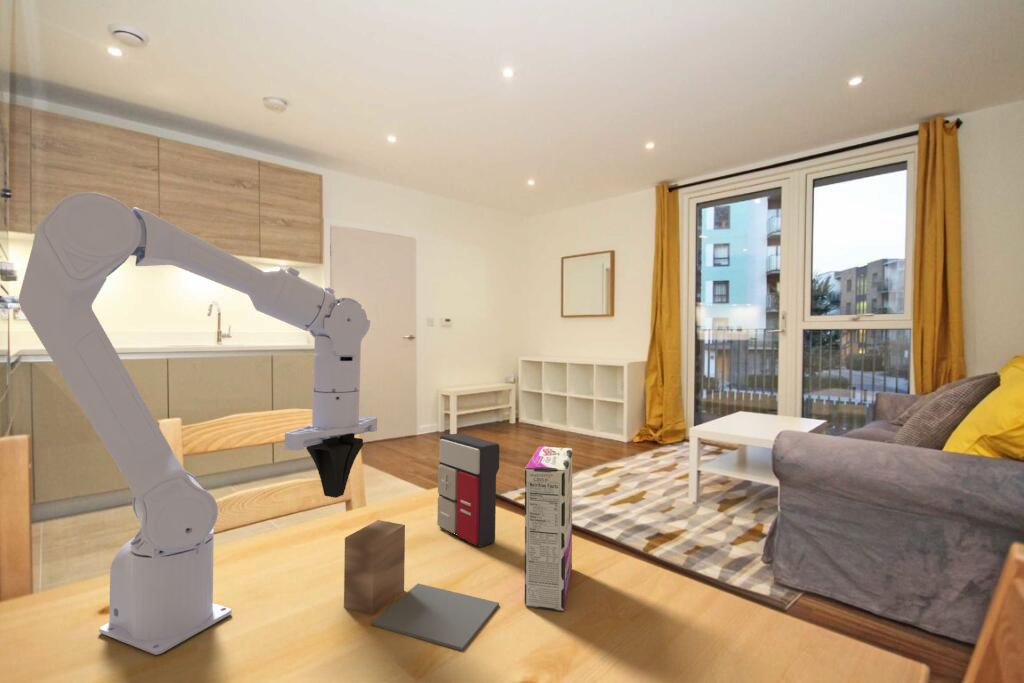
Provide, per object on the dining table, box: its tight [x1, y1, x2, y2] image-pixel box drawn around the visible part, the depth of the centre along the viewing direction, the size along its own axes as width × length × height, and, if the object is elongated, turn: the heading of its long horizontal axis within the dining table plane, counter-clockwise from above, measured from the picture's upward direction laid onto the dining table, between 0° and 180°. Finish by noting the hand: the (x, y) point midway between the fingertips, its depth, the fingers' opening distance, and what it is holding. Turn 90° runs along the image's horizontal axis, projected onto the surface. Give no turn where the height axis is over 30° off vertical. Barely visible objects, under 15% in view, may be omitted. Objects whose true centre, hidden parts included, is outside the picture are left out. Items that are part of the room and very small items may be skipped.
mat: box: [371, 583, 500, 652], centre depth 54 cm, size 11×9×1 cm
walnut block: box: [343, 519, 406, 617], centre depth 57 cm, size 4×6×8 cm, turn 158°
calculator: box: [436, 433, 501, 548], centre depth 76 cm, size 11×4×15 cm, turn 43°
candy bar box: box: [524, 445, 573, 612], centre depth 61 cm, size 11×5×16 cm, turn 168°
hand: (333, 495), depth 63 cm, fingers closed
